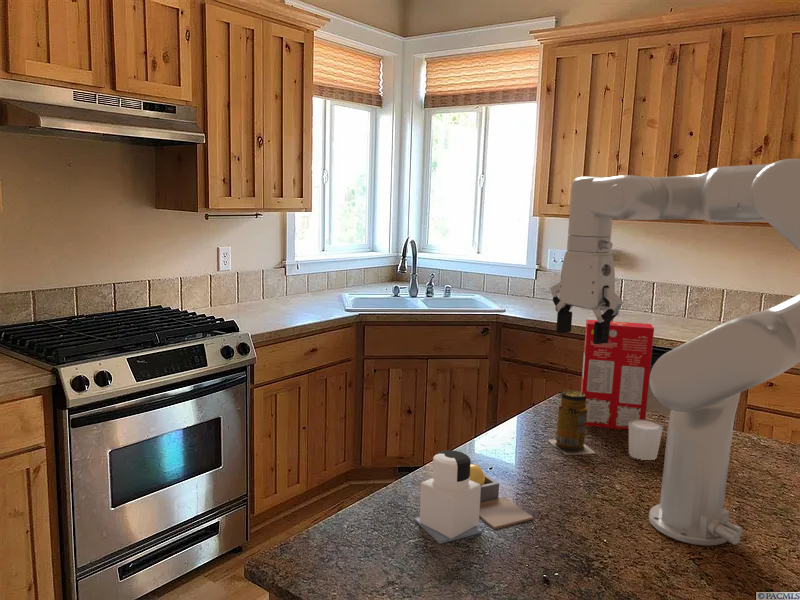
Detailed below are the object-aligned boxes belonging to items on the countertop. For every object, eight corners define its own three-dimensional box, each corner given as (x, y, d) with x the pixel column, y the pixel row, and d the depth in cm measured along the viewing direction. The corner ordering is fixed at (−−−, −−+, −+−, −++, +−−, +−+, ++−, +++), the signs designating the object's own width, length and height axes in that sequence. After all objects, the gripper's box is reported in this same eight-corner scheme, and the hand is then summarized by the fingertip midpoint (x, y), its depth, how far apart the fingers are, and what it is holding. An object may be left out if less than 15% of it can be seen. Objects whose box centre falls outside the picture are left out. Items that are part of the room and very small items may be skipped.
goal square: (481, 532, 104) (481, 530, 104) (439, 543, 100) (439, 541, 100) (455, 510, 111) (455, 508, 111) (414, 520, 107) (414, 518, 107)
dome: (489, 494, 116) (490, 467, 115) (467, 499, 114) (469, 471, 113) (474, 483, 120) (476, 458, 119) (453, 488, 118) (455, 462, 117)
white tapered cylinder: (632, 446, 142) (635, 416, 141) (664, 455, 138) (667, 424, 137) (620, 455, 137) (623, 424, 136) (653, 465, 133) (656, 432, 132)
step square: (533, 519, 109) (533, 517, 109) (494, 529, 105) (494, 527, 105) (504, 499, 116) (504, 497, 116) (467, 507, 112) (467, 505, 112)
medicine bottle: (447, 509, 111) (450, 442, 109) (479, 524, 106) (483, 455, 104) (418, 523, 106) (420, 453, 104) (451, 540, 101) (454, 468, 99)
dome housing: (498, 498, 116) (499, 483, 115) (465, 506, 112) (466, 490, 112) (476, 483, 122) (477, 468, 121) (444, 490, 119) (445, 474, 118)
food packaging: (641, 424, 157) (650, 323, 153) (644, 431, 152) (654, 328, 148) (578, 417, 160) (586, 319, 156) (579, 425, 155) (587, 323, 151)
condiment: (576, 439, 146) (580, 388, 144) (595, 453, 138) (600, 400, 136) (547, 441, 144) (550, 389, 142) (564, 455, 136) (568, 401, 134)
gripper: (640, 249, 111) (632, 346, 114) (571, 242, 126) (565, 327, 129) (608, 250, 108) (600, 349, 110) (541, 242, 123) (535, 329, 125)
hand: (581, 337), depth 120 cm, fingers open, 9 cm apart
